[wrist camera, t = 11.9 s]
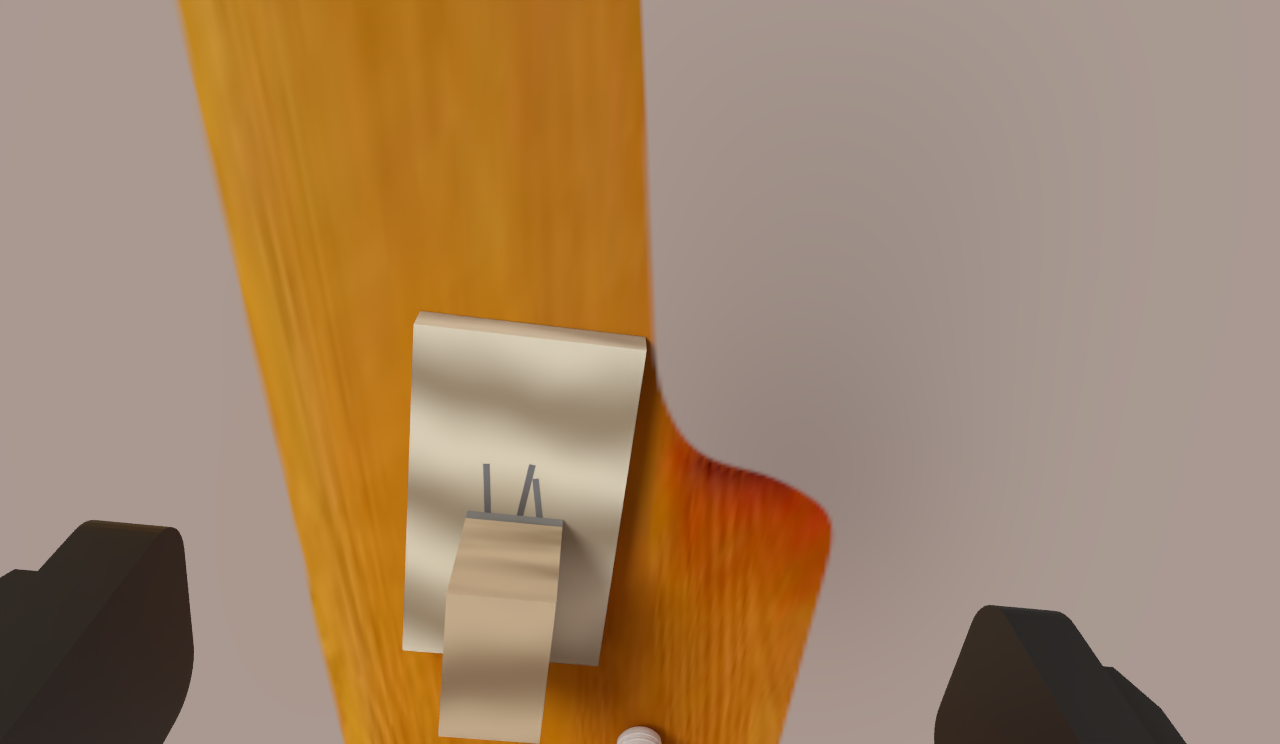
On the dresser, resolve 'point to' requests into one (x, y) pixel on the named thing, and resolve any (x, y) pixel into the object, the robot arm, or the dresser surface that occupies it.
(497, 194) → the dresser surface
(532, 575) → the block
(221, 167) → the dresser surface
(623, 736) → the lightbulb
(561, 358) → the board
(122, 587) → the robot arm
